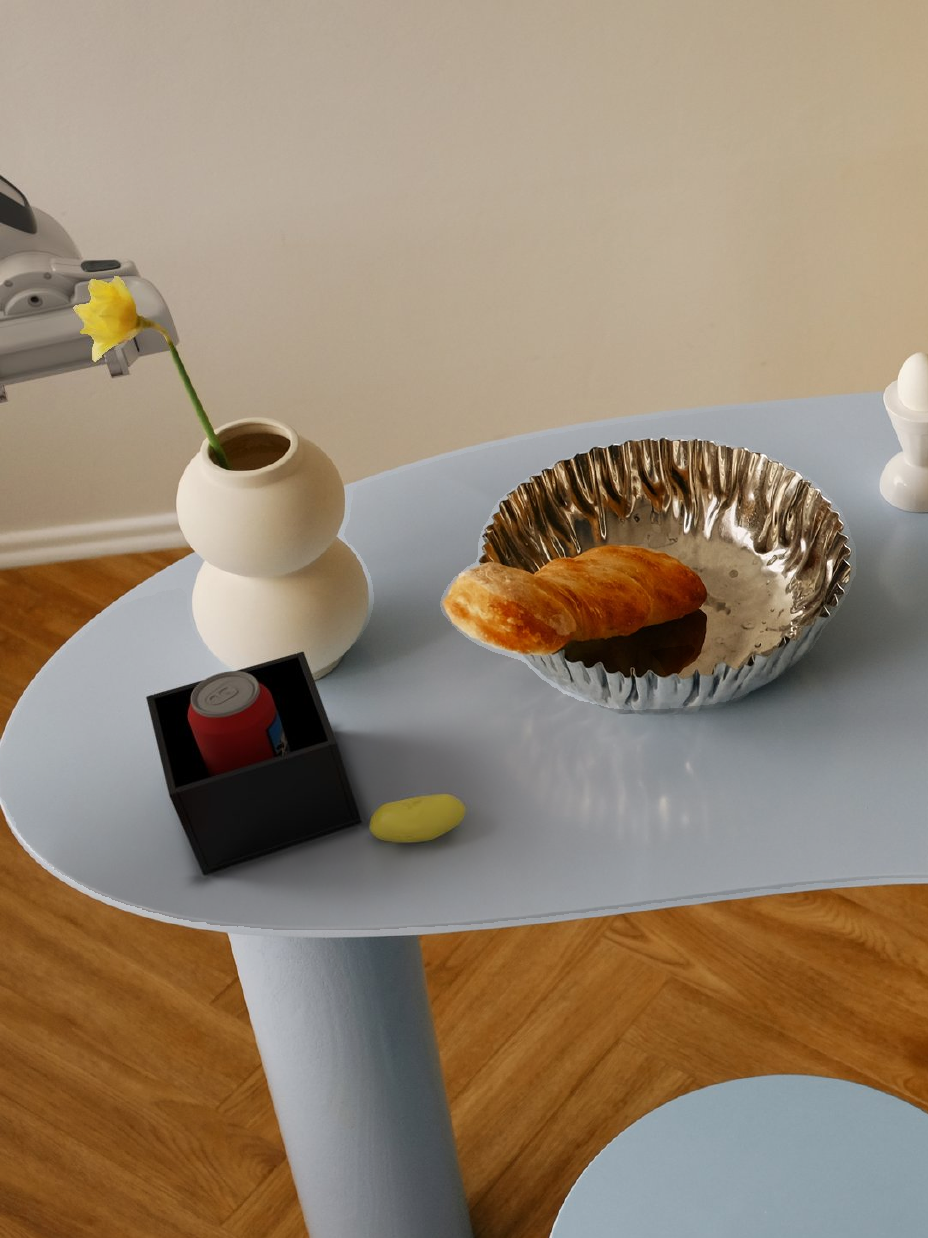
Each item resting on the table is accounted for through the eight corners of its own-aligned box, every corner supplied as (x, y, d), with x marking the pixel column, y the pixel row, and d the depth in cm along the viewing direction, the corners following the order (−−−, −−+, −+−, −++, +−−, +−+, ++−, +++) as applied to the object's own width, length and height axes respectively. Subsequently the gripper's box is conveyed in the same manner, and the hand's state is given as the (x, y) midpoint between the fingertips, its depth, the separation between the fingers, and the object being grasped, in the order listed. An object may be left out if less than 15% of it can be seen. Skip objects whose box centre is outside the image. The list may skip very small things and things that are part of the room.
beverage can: (318, 790, 132) (284, 687, 124) (252, 834, 128) (213, 731, 120) (271, 757, 135) (235, 654, 127) (205, 799, 131) (164, 696, 123)
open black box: (203, 875, 125) (168, 794, 119) (179, 776, 134) (145, 696, 128) (362, 823, 130) (336, 742, 124) (328, 730, 139) (303, 650, 132)
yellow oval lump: (375, 821, 130) (366, 790, 127) (469, 810, 131) (462, 778, 128) (372, 857, 127) (362, 825, 124) (469, 845, 128) (461, 813, 125)
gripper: (-104, 304, 127) (-99, 377, 118) (150, 254, 134) (174, 320, 125) (-74, 370, 131) (-67, 446, 122) (171, 319, 138) (196, 387, 129)
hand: (57, 382), depth 123 cm, fingers open, 8 cm apart
